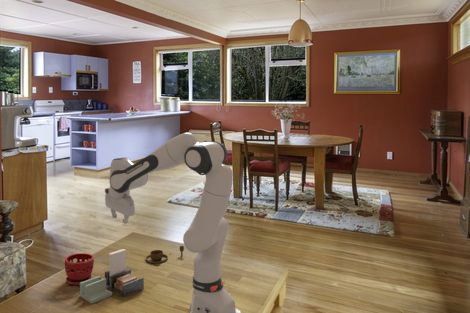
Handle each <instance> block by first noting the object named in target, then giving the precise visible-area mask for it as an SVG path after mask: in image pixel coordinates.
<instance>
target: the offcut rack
mask: <svg viewBox="0 0 470 313" xmlns="http://www.w3.org/2000/svg"><path fill="white" fill-rule="evenodd" d="M127 274H131V275H132V270H131V269H130V268H129V269H126V271H123V272H120V273H118V274H115V275H112V276H109V269H108V270H106V271H104V278H106V287H107V290H109V291H111V292H114V293H116V294H118V295H119V296H121V297H123V298H126V297H127V296H130V295H132V294H134V293H137V292H139V291H142V290H144V289H145V287H144V284H145V281H144V280H145V279H144V277H143V276H141V277H139V278H138V277H137V279H136V280H134V281H131V282H129V283H126V284H124V285H122V291H121V290H119V289H117V288H115V287H114V283H116V282H117V278H119V277H122V276H125V275H127Z"/></svg>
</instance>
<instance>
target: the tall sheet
mask: <svg viewBox="0 0 470 313" xmlns="http://www.w3.org/2000/svg"><path fill="white" fill-rule="evenodd" d="M108 264H109V265H108V270H109V276H112V275H115V274H118V273H120V272H123V271H126V270H127V250H126V249H125V248H122V249H118V250H116V251H112V252H110V253H108Z"/></svg>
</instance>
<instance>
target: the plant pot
mask: <svg viewBox="0 0 470 313" xmlns="http://www.w3.org/2000/svg"><path fill="white" fill-rule="evenodd" d="M75 259H76V260H77V261H75V262H74V260H75ZM94 260H95V259H94V255H93V254H90V253H86V252H85V253H84V252H81V253H79V252H78V253H73V254H69V255H67V256H66V257H65V258H64V269H65V274H66V279H65V281H66V283H68V284H69V285H75V286H80V283H81V282H84V281H86V280H89V279H92V278H93V276H92V272H93V269H94V263H95V262H94Z"/></svg>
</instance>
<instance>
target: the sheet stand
mask: <svg viewBox="0 0 470 313" xmlns="http://www.w3.org/2000/svg"><path fill="white" fill-rule="evenodd" d="M112 295H113V291H112V290H110V289H108V288H107V287H106V278H105V277H104V278H102V275H98V276H95V277H92V278H91V279H89V280H86V281H84V282H81V283H80V285H79V297H80V298H82V299H83V300H85V301H87V302H89V303H90V304H94V303H96V302H99V301H102V300H104V299H107V298H109V297H111V296H112Z"/></svg>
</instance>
